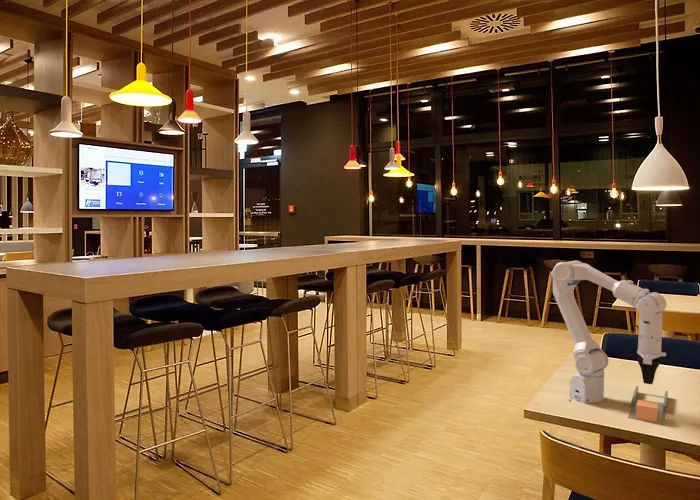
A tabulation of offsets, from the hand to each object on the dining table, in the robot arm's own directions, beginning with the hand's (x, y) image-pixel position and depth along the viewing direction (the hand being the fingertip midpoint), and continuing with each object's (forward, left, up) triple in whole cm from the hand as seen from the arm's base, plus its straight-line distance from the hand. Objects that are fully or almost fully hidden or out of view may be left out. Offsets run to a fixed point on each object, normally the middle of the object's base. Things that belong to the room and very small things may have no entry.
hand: (648, 383), depth 148 cm
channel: (+5, +3, -10) cm, 12 cm away
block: (-3, -2, -9) cm, 10 cm away
